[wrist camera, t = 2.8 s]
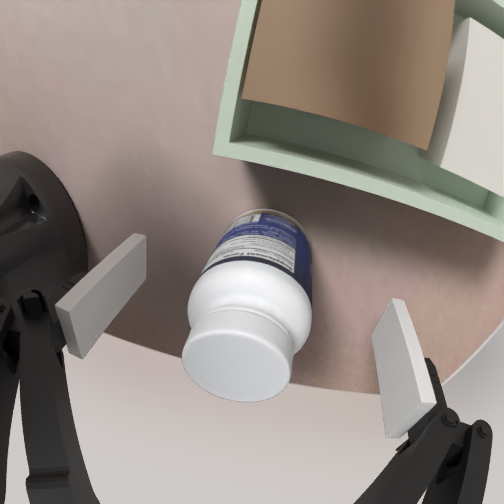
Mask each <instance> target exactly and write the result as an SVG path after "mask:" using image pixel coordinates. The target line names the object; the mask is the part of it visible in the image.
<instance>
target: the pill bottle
mask: <svg viewBox="0 0 504 504" xmlns="http://www.w3.org/2000/svg"><path fill="white" fill-rule="evenodd" d="M187 312H188V319H189V323H190V327H191V331H190V333H189V336H188V339H187V341H186V343H185V346H184V348H183V352H182V363H183V366H184V369H185V371H186V373H187V374H188V375H189V377H190V378H191V379H192V380H193V381H194V382H195V383H196V384H197V385H198V386H199V387H201V388H202V389H204V390H205V391H207V392H209V393H211V394H213V395H215V396H218V397H220V398H223V399H227V400H232V401H238V402H258V401H263V400H267V399H270V398H272V397H274V396H276V395H278V394H279V393H281V392H282V391H283V390H284V389H285V387H286V386H287V385H288V383H289V381H290V378H291V371H292V362H293V355H294V354H296V353H297V352H298V351H299V350H300V349H301V348H302V346H303V345H304V343H305V342H306V340H307V338H308V335H309V332H310V328H311V321H312V270H311V248H310V242H309V239H308V236H307V234H306V232H305V230H304V229H303V227H302V226H301V225H300V224H299V223H298V222H297V221H296V220H295V219H294V218H292V217H291V216H289V215H288V214H285V213H283V212H281V211H277V210H273V209H256V210H251V211H248V212H246V213H244V214H242V215H240V216H239V217H237V218H236V219H235V220H234V221H233V222H232V223H231V224H230V225H229V227H228V228H227V230H226V231H225V233H224V235H223V236H222V238H221V240H220V242H219V243H218V245H217V247H216V249H215V250H214V252H213V254H212V255H211V257H210V259H209V261H208V262H207V264H206V266H205V268H204V269H203V271H202V273H201V274H200V276H199V278H198V280H197V282H196V284H195V286H194V288H193V290H192V292H191V294H190V297H189V301H188V309H187Z"/></svg>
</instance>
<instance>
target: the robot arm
mask: <svg viewBox="0 0 504 504" xmlns="http://www.w3.org/2000/svg"><path fill="white" fill-rule="evenodd" d="M145 280H146V236H145V235H141V234H137V233H133V234H132V235H131V236H130V237H128V238H127V239H126V240H125V241H124V242H123V243H121V244H120V245H119V246H118V247H117V248H116V249H114V250H113V251H112V252H111V253H110V254H109V255H108V256H106V257H105V258H104V259H103V260H102V261H101V262H100V263H99V264H98V265H96V266H95V267H94V268H93V269H92V270H91V271H90V272H89V273H88V272H87V251H86V245H85V240H84V236H83V232H82V228H81V225H80V222H79V219H78V216H77V214H76V211H75V209H74V207H73V205H72V202H71V200H70V198H69V197H68V195H67V193H66V191H65V189H64V188H63V186H62V185H61V183H60V182H59V180H58V179H57V177H56V176H55V175H54V174H53V172H52V171H51V170H50V169H49V168H48V167H47V166H46V165H45V164H44V163H43V162H41V161H40V160H39V159H37V158H36V157H34V156H32V155H31V154H28V153H25V152H20V151H15V152H10V153H7V154H5V155H2V156H0V504H4V501H5V494H6V473H7V457H8V446H9V437H10V429H11V421H12V415H13V409H14V404H15V398H16V393H17V389H18V383H19V379H20V402H21V415H22V426H23V434H24V442H25V448H26V455H27V461H28V465H29V473H30V474H29V476H28V477H27V478H26V489H27V494H28V498H29V501H30V504H100V502H99V500H98V499H97V497H96V495H95V493H94V491H93V489H92V486H91V483H90V480H89V477H88V473H87V470H86V467H85V463H84V460H83V456H82V453H81V449H80V445H79V441H78V437H77V433H76V429H75V424H74V420H73V415H72V410H71V404H70V399H69V393H68V387H67V380H66V373H65V365H64V356H63V352H62V348H63V347H64V346H65V345H67V348H68V351H69V353H71V354H73V355H75V356H77V357H79V358H81V359H83V358H84V357H85V356H86V354H87V353H88V351H89V350H90V349H91V348H92V346H93V345H94V344H95V342H96V341H97V340H98V338H99V337H100V336H101V334H102V333H103V332H104V331H105V329H106V328H107V327H108V325H109V324H110V323H111V322H112V320H113V319H114V318H115V317H116V315H117V314H118V313H119V312H120V310H121V309H122V308H123V307H124V305H125V304H126V303H127V302H128V300H129V299H130V298H131V297H132V295H133V294H134V293H135V292H136V291H137V289H138V288H139V287H140V286H141V285H142V283H143V282H144V281H145ZM371 338H372V344H373V349H374V355H375V361H376V368H377V374H378V381H379V388H380V395H381V402H382V410H383V420H384V429H385V438H401V437H402V436H403V435H404V434H405V433H406V432H408V437H409V439H408V440H406V441H405V442H404V443H403V444H402V445H400V446H399V447H398V448H397V449H396V451H398V452H397V453H396V454H395V456H394V457H393V458H392V460H391V461H390V462H389V463H388V465H387V466H386V467H385V468H384V470H383V471H382V472H381V473H380V475H379V476H378V477H377V478H376V479H375V481H374V482H373V483H372V484H371V485H370V486H369V488H368V489H367V490H366V491H365V492H364V493H363V494H362V495H361V496H360V497H359V499H357V500H356V502H355V503H354V504H417V502H418V501H419V499H420V498H421V496H422V495H423V493H424V492H425V490H426V489H427V490H426V493H425V496H424V499H423V502H422V504H482V501H483V497H484V492H485V487H486V482H487V476H488V470H489V463H490V455H491V447H492V429H491V427H490V425H489V424H488V423H487V422H485V421H484V420H477V421H476V422H475V423H474V424H472V425H468V424H465V423H462V422H460V420H459V417H458V415H457V414H456V412H455V411H454V410H452V409H450V408H447V405H446V401H445V397H444V394H443V390H442V387H441V384H440V380H439V377H438V374H437V370H436V367H435V365H434V364H433V363H432V361H431V360H430V358H424V357H423V354H422V350H421V347H420V344H419V341H418V338H417V335H416V333H415V330H414V327H413V324H412V321H411V318H410V316H409V313H408V310H407V308H406V305H405V302H404V300H399V299H395V298H391V300H390V302H389V304H388V306H387V308H386V310H385V311H384V313H383V315H382V317H381V319H380V321H379V323H378V324H377V326H376V328H375V330H374V332H373V333H372V335H371ZM427 487H428V488H427Z"/></svg>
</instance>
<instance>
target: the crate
mask: <svg viewBox="0 0 504 504" xmlns="http://www.w3.org/2000/svg"><path fill="white" fill-rule="evenodd" d="M261 3H262V0H242V3H241V7H240V11H239V15H238V20H237V24H236V29H235V33H234V38H233V43H232V48H231V52H230V57H229V62H228V67H227V72H226V78H225V83H224V88H223V94H222V99H221V105H220V110H219V116H218V122H217V128H216V134H215V140H214V147H213V153H212V154H214V155H219V156H224V157H229V158H235V159H239V160H244V161H249V162H254V163H258V164H263V165H268V166H272V167H276V168H281V169H285V170H289V171H293V172H297V173H301V174H305V175H309V176H313V177H317V178H321V179H324V180H328V181H332V182H335V183H339V184H342V185H346V186H349V187H353V188H356V189H360V190H363V191H366V192H370V193H373V194H376V195H379V196H383V197H386V198H389V199H392V200H395V201H398V202H401V203H404V204H407V205H410V206H413V207H416V208H419V209H421V210H424V211H427V212H430V213H433V214H435V215H438V216H441V217H443V218H446V219H449V220H451V221H454V222H456V223H459V224H462V225H464V226H467V227H469V228H472V229H474V230H476V231H479V232H481V233H484V234H486V235H488V236H491V237H493V238H495V239H498V240H500V241H502V242H504V197H501V196H499V195H497V194H496V193H494V192H492V191H490V190H488V189H486V188H484V187H482V186H480V185H478V184H476V183H474V182H472V181H470V180H467V179H465V178H463V177H461V176H459V175H457V174H454V173H452V172H450V171H448V170H445V169H443V168H441V167H439V166H437V165H435V164H434V163H432V162H430V161H428V160H426V159H424V158H422V157H421V156H419V155H418V154H419V150H420V148H419V147H416V146H414V145H411V144H408V143H406V142H403V141H401V140H398V139H395V138H392V137H390V136H387V135H384V134H381V133H378V132H375V131H372V130H369V129H366V128H363V127H360V126H356V125H353V124H350V123H347V122H343V121H340V120H336V119H333V118H329V117H325V116H321V115H318V114H314V113H310V112H306V111H301V110H297V109H293V108H288V107H284V106H279V105H274V104H269V103H264V102H259V101H253V100H247V99H241V98H242V93H243V88H244V83H245V78H246V73H247V68H248V63H249V58H250V53H251V49H252V44H253V39H254V35H255V30H256V25H257V21H258V17H259V12H260V8H261ZM469 17H470V18H472V19H474V20H475V21H477V22H479V23H480V24H482V25H483V26H485V27H487V28H488V29H490V30H491V31H493V32H494V33H496V34H497V35H499V36H500V37H501V38H503V39H504V0H455V5H454V17H453V24H455V23H457V22H460V21H462V20H464V19H467V18H469Z"/></svg>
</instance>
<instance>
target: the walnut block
mask: <svg viewBox="0 0 504 504" xmlns="http://www.w3.org/2000/svg"><path fill="white" fill-rule="evenodd" d="M454 5H455V0H262V3H261V8H260V12H259V17H258V21H257V25H256V30H255V35H254V39H253V44H252V49H251V53H250V58H249V63H248V68H247V73H246V78H245V83H244V88H243V93H242V98H241V99H247V100H253V101H259V102H264V103H269V104H274V105H279V106H284V107H288V108H293V109H297V110H301V111H306V112H310V113H314V114H318V115H321V116H325V117H329V118H333V119H336V120H340V121H343V122H347V123H350V124H353V125H356V126H360V127H363V128H366V129H369V130H372V131H375V132H378V133H381V134H384V135H387V136H390V137H392V138H395V139H398V140H401V141H403V142H406V143H408V144H411V145H414V146H416V147H419V148H421V149H424V150H426V151H427V150H428V146H429V143H430V139H431V135H432V132H433V128H434V124H435V120H436V116H437V112H438V108H439V103H440V99H441V94H442V89H443V84H444V79H445V74H446V69H447V63H448V57H449V50H450V43H451V35H452V27H453V17H454Z"/></svg>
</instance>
